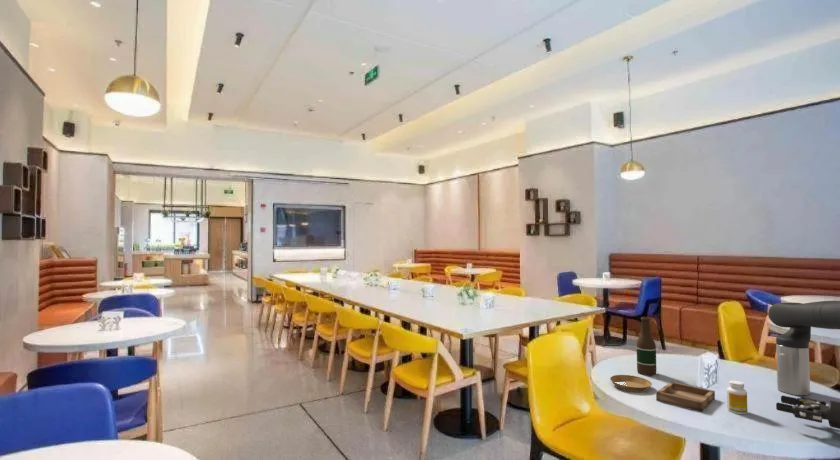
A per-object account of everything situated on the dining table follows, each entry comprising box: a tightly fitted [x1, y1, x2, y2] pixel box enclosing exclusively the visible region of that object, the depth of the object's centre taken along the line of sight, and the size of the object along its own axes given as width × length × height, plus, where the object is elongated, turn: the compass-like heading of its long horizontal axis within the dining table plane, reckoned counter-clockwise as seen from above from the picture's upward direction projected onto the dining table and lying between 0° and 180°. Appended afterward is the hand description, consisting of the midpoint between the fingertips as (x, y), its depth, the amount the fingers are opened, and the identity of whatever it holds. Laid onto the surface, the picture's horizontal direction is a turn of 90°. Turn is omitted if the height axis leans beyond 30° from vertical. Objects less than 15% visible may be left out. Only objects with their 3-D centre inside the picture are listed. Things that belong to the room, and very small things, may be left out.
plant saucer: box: [609, 374, 653, 393], centre depth 166 cm, size 15×15×3 cm
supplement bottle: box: [726, 380, 749, 415], centre depth 142 cm, size 5×5×10 cm
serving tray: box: [655, 381, 716, 413], centre depth 152 cm, size 16×14×3 cm
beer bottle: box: [636, 316, 657, 377], centre depth 183 cm, size 8×8×24 cm
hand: (778, 402), depth 134 cm, fingers open, 8 cm apart
